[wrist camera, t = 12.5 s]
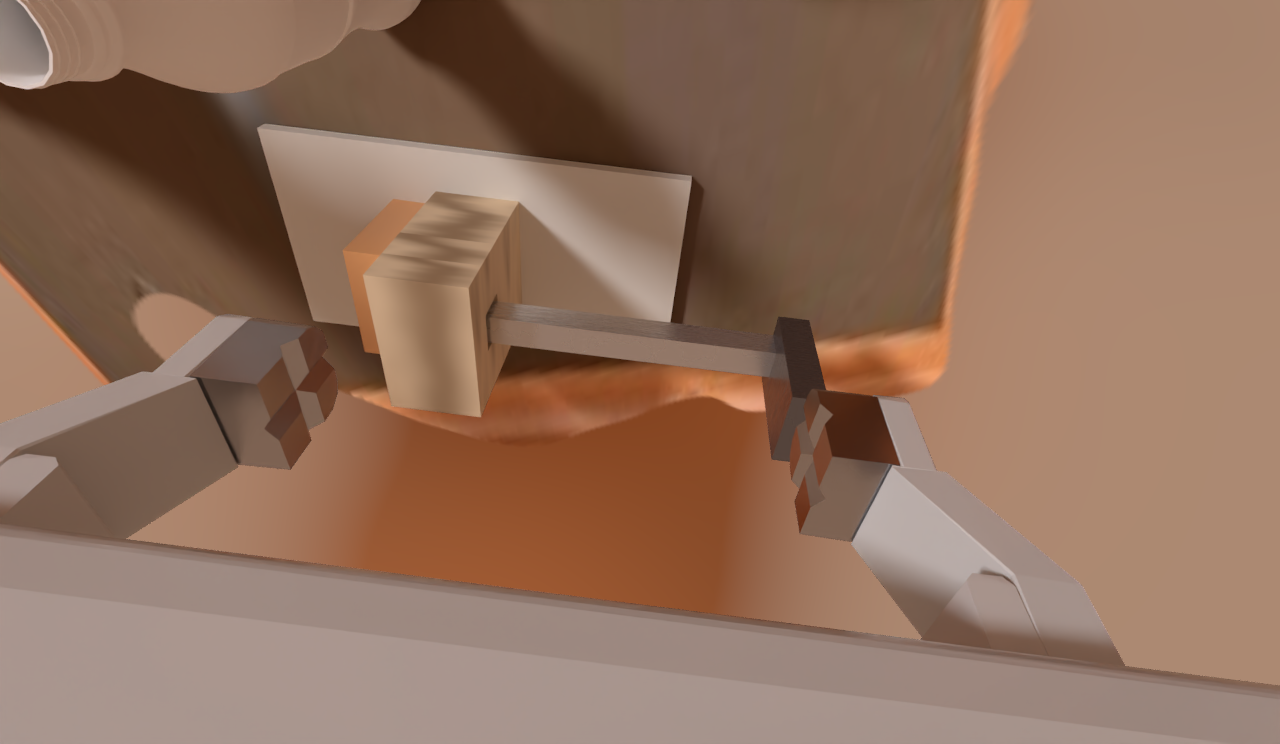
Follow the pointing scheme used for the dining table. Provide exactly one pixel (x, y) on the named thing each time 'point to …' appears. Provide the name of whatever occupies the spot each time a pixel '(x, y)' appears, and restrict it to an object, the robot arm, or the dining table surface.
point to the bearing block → (445, 301)
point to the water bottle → (178, 38)
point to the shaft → (680, 352)
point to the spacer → (367, 251)
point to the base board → (545, 188)
